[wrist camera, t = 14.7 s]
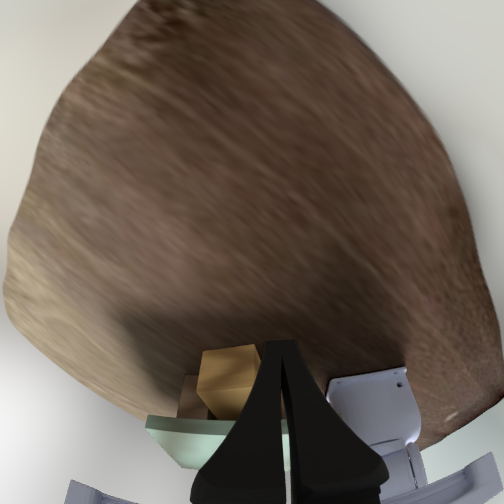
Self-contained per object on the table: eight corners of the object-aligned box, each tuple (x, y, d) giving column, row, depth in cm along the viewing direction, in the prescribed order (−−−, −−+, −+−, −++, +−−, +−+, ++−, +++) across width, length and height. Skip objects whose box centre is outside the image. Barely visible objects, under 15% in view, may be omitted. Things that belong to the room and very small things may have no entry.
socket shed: (329, 358, 26) (344, 427, 19) (316, 414, 32) (323, 466, 25) (162, 362, 27) (144, 428, 20) (189, 417, 33) (182, 467, 26)
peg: (254, 342, 25) (253, 386, 21) (278, 403, 31) (279, 438, 26) (203, 349, 26) (196, 391, 21) (238, 408, 31) (236, 442, 27)
